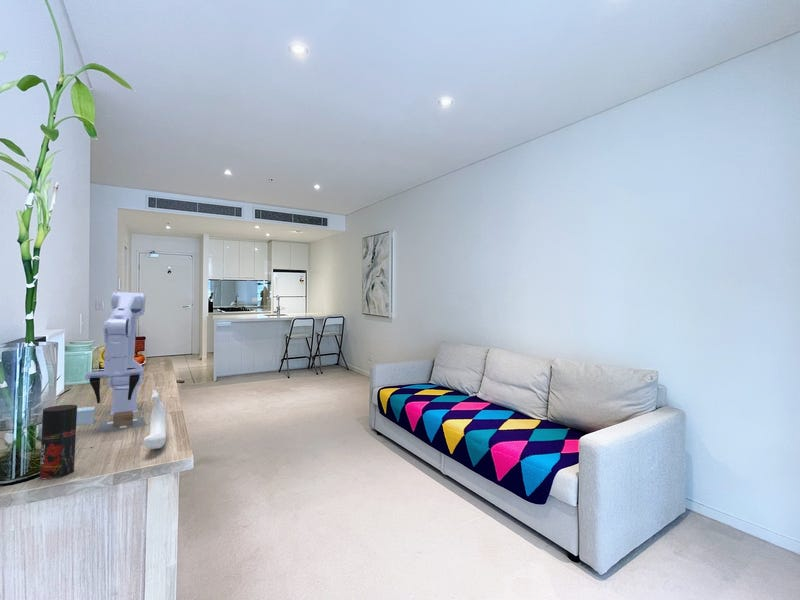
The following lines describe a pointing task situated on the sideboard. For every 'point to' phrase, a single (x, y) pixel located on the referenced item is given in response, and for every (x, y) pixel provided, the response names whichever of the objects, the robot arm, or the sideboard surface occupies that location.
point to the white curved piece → (156, 425)
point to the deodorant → (58, 441)
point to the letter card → (109, 426)
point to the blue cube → (85, 415)
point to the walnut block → (123, 418)
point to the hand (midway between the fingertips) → (114, 400)
